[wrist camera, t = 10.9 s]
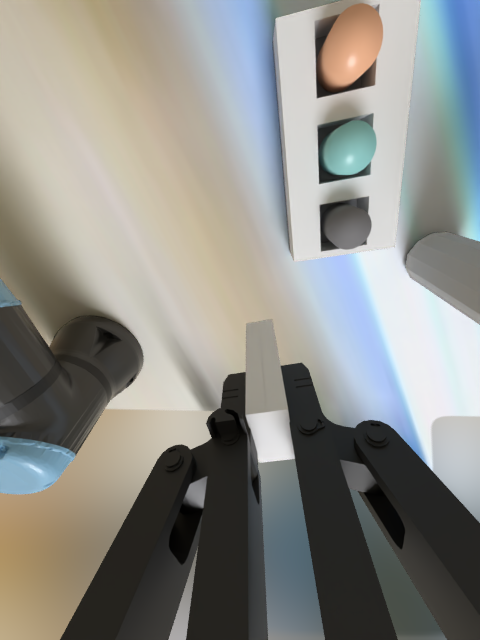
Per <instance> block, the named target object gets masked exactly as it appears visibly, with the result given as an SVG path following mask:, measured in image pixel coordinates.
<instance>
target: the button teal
mask: <svg viewBox="0 0 480 640" xmlns="http://www.w3.org/2000/svg"><path fill="white" fill-rule="evenodd" d="M376 145H377V140H376V134H375V132H374V130H373V128H372V127H371V126H370V125H369V124H368V123H366V122H364V121H361V120H354V121H350V122H348V123H346V124H344V125H342V126H340V127H339V128H337V129H335V130H333V131H332V132H330V133H329V134H328V135H327V136H326V137H325V138H324V139H323V141H322V143H321V145H320V148H319V152H318V159H319V163H320V165H321V167H322V169H323V170H324V171H325V172H327V173H329V174H332V175H352V174H355V173H358V172H360V171H361V170H363V169H364V168H365V167H366V166H367V165H368V164H369V163H370V161H371V160H372V158H373V156H374V153H375V150H376Z"/></svg>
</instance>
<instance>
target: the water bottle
mask: <svg viewBox="0 0 480 640" xmlns="http://www.w3.org/2000/svg"><path fill="white" fill-rule="evenodd" d="M405 268H406V270H407V272H408V274H409V276H410V278H412V279H413V280H415V281H416V282H418V283H419V284H421V285H422V286H424V287H425V288H426V289H428V290H429V291H431V292H432V293H434V294H435V295H437V296H438V297H440V298H441V299H443V300H444V301H446V302H447V303H449V304H450V305H452V306H453V307H454V308H456V309H457V310H459V311H460V312H462V313H463V314H465V315H466V316H468V317H469V318H471V319H472V320H474V321H475V322H477V323H478V324H480V242H479V241H475V240H472V239H469V238H466V237H462V236H459V235H456V234H453V233H449V232H438V233H431V234H429V235H427V236H426V237H424V238H422V239H421V240H419V241H417V242H416V244H415V245H414V246H413V248H412V249H411V250H410V252H409V253H408V255H407V260H406V266H405Z"/></svg>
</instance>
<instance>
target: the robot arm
mask: <svg viewBox="0 0 480 640" xmlns="http://www.w3.org/2000/svg"><path fill="white" fill-rule="evenodd" d="M21 304H22V303H21V302H20V300H17V299H16V298H15V296H14V295H13V294H12V293H11V291H10V290H9V289H8V287H7V286H6V285H5V284H4V282H3V281H2V279H1V278H0V493H7V494H30V493H35V492H39V491H42V490H44V489H46V488H48V487H50V486H51V485H52V484H54V483H55V482H56V481H57V480H58V478H59V477H60V476H61V474H62V473H63V472H64V470H65V469H66V467H67V466H68V465H69V463H70V462H71V461H73V460H74V458H75V456H76V454H77V453H78V451H79V449H80V448H81V446H82V444H83V443H84V441H85V440H86V438H87V436H88V435H89V433H90V432H91V430H92V428H93V427H94V425H95V424H96V422H97V420H98V419H99V417H100V416H101V414H102V412H103V411H104V409H105V407H106V406H107V404H108V403H109V401H110V400H111V399H112V398H114V397H115V396H116V395H118V394H119V393H120V392H122V391H123V390H124V389H125V388H127V387H128V386H129V385H131V384H132V383H133V382H134V381H135V379H136V378H137V376H138V374H139V373H140V371H141V369H142V366H143V353H142V350H141V347H140V345H139V343H138V342H137V340H136V339H135V338H134V336H133V335H132V334H131V333H130V332H129V331H128V330H126V329H125V328H124V327H122V326H121V325H119V324H117V323H116V322H114V321H111V320H109V319H106V318H102V317H97V316H82V317H78V318H75V319H73V320H71V321H70V322H68V323H67V324H66V325H64V326H63V327H62V328H61V329H60V330H59V331H58V332H57V333H56V335H55V336H54V339H53V341H52V343H51V345H50V347H49V346H48V345H47V343H46V342H45V340H44V339H43V338H42V336H41V335H40V333H39V332H38V330H37V329H36V327H35V326H34V324H33V323H32V321H31V320H30V318H29V317H28V315H27V314H26V312H25V311H24V309H23V307H22V306H21ZM206 424H207V427H208V429H209V432H210V435H211V437H212V438H211V439H210V440H209V441H208V442H206V443H204V444H203V445H200V446H198V447H196V448H193V449H191V450H190V449H189V448H188V447H187V446H184V445H175V446H173V447H170V448H168V449H167V450H166V451H164V452H163V453H162V455H161V456H160V457H159V459H158V460H157V462H156V464H155V466H154V467H153V470H152V471H151V473H150V475H149V477H148V478H147V480H146V482H145V484H144V486H143V488H142V490H141V492H140V493H139V495H138V497H137V499H136V501H135V502H134V504H133V506H132V508H131V510H130V512H129V514H128V516H127V517H126V519H125V521H124V523H123V525H122V527H121V529H120V530H119V532H118V534H117V536H116V538H115V540H114V541H113V543H112V545H111V547H110V549H109V550H108V552H107V554H106V556H105V558H104V560H103V562H102V563H101V565H100V567H99V569H98V571H97V573H96V574H95V576H94V578H93V580H92V582H91V584H90V586H89V588H88V589H87V591H86V593H85V595H84V597H83V598H82V600H81V602H80V604H79V606H78V608H77V610H76V612H75V613H74V615H73V617H72V619H71V621H70V622H69V624H68V626H67V628H66V630H65V632H64V634H63V635H62V637H61V639H60V640H168V639H169V636H170V632H171V629H172V626H173V623H174V620H175V617H176V613H177V610H178V607H179V604H180V601H181V598H182V595H183V591H184V588H185V585H186V582H187V579H188V576H189V573H190V569H191V566H192V563H193V560H194V557H195V554H196V550H197V547H198V552H197V560H196V568H195V576H194V583H193V592H192V598H191V606H190V614H189V621H188V629H187V638H186V640H268V630H267V629H268V628H267V608H266V586H265V564H264V543H263V522H262V500H261V480H260V474H259V470H258V460H259V463H261V462H269V461H278V460H288V459H295V461H296V467H297V472H298V479H299V485H300V490H301V497H302V503H303V509H304V515H305V521H306V527H307V533H308V539H309V544H310V551H311V557H312V563H313V569H314V575H315V581H316V587H317V593H318V599H319V605H320V610H321V617H322V623H323V629H324V635H325V640H398V639H397V636H396V633H395V630H394V627H393V624H392V620H391V617H390V614H389V611H388V608H387V605H386V602H385V599H384V596H383V593H382V589H381V586H380V584H379V580H378V577H377V574H376V571H375V568H374V565H373V562H372V559H371V555H370V552H369V549H368V546H367V543H366V540H365V537H364V534H363V531H362V527H361V524H360V521H359V518H358V515H357V512H356V509H355V506H354V503H353V500H352V497H351V493H350V490H349V489H353V490H357V491H358V492H359V494H360V496H361V497H362V499H363V501H364V502H365V504H366V506H367V507H368V509H369V511H370V512H371V514H372V516H373V517H374V519H375V521H376V522H377V524H378V526H379V527H380V529H381V531H382V532H383V534H384V536H385V537H386V539H387V540H388V542H389V544H390V545H391V547H392V549H393V550H394V552H395V554H396V555H397V557H398V559H399V560H400V562H401V564H402V565H403V567H404V569H405V570H406V572H407V574H408V575H409V577H410V579H411V580H412V582H413V584H414V585H415V587H416V589H417V590H418V592H419V594H420V595H421V597H422V599H423V600H424V602H425V604H426V605H427V607H428V608H429V610H430V612H431V613H432V615H433V617H434V618H435V620H436V622H437V623H438V625H439V627H440V628H441V630H442V632H443V633H444V635H445V637H446V638H447V640H480V523H479V522H478V521H477V520H476V519H475V518H474V516H473V515H472V514H471V513H470V512H469V511H468V510H467V509H466V508H465V507H464V505H463V504H462V503H461V502H460V501H459V500H458V499H457V498H456V497H455V496H454V494H453V493H452V492H451V491H450V490H449V489H448V488H447V487H446V486H445V485H444V484H443V482H442V481H441V480H440V479H439V478H438V477H437V476H436V475H435V474H434V473H433V471H432V470H431V469H430V468H429V467H428V466H427V465H426V464H425V463H424V462H423V461H422V459H421V458H420V457H419V456H418V455H417V454H416V453H415V452H414V451H413V450H412V449H411V447H410V446H409V445H408V444H407V443H406V442H405V441H404V440H403V439H402V438H401V437H400V435H399V434H398V433H397V432H396V431H395V430H394V429H393V428H391V427H390V426H389V425H387V424H385V423H383V422H380V421H374V420H368V421H363V422H361V423H359V424H358V425H357V426H356V428H351V427H344V426H340V425H336V424H334V423H332V422H331V421H329V420H328V419H327V418H326V417H325V416H324V415H323V413H322V411H321V408H320V404H319V401H318V398H317V395H316V392H315V389H314V386H313V382H312V379H311V376H310V373H309V370H308V368H307V367H306V366H304V365H303V364H302V363H297V364H290V365H284V366H281V365H280V360H279V354H278V348H277V343H276V337H275V332H274V326H273V321H272V319H269V320H264V321H258V322H252V323H247V324H246V372H243V373H237V374H230V375H228V377H227V378H226V380H225V381H224V384H223V393H222V402H221V408H219V409H217V410H216V411H214V412H213V413H212V414H211V415H210V416H209V417H208V420H207V423H206Z"/></svg>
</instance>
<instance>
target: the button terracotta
mask: <svg viewBox="0 0 480 640" xmlns="http://www.w3.org/2000/svg"><path fill="white" fill-rule="evenodd" d="M382 41H383V24H382V20H381V17H380V15H379V13H378V12H377V11H376V10H375V9H374V8H373V7H372V6H370V5H368V4H364V3H359V4H355V5H352V6H350V7H348V8H347V9H346V10H344V11H343V12H342V13H341V14H340V15H339V17H338V18H337V19H336V21H335V23H334V24H333V26H332V28H331V30H330V32H329V34H328V36H327V38H326V40H325V42H324V44H323V46H322V48H321V50H320V52H319V54H318V57H317V62H316V75H317V79H318V81H319V83H320V85H321V86H322V87H323V88H324V89H325V90H326V91H328V92H332V93H337V92H341V91H343V90H345V89H347V88H348V87H349V86H350V85H351V84H353V83H354V82H355V81H356V80H357V79H358V78H359V77H360V76H361V75H362V74H363V73H364V72H365V71H366V70H367V69H368V68H369V67H370V66H371V65H372V64H373V63H374V61H375V59H376V58H377V56H378V54H379V51H380V49H381V45H382Z"/></svg>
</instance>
